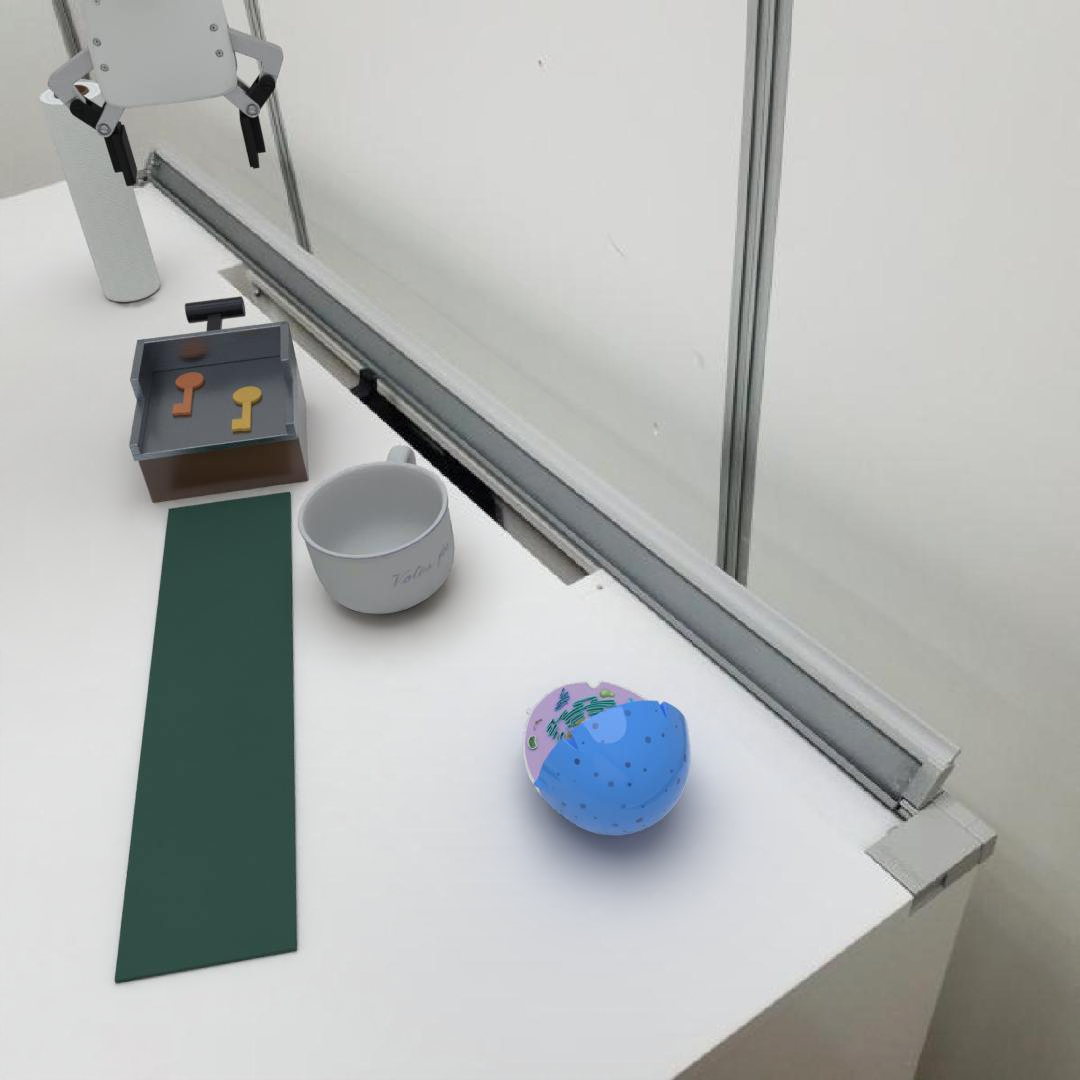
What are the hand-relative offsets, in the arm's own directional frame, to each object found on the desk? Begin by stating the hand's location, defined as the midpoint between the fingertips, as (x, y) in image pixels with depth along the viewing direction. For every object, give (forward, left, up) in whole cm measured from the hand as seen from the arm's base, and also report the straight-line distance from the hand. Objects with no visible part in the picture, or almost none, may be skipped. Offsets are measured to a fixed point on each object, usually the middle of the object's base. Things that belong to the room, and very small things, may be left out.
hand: (193, 170), depth 92 cm
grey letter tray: (-1, -5, -18) cm, 18 cm away
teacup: (+16, -23, -23) cm, 36 cm away
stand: (0, -7, -23) cm, 24 cm away
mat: (+4, -35, -23) cm, 42 cm away
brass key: (+2, -9, -17) cm, 19 cm away
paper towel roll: (-17, +24, -23) cm, 37 cm away
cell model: (+31, -44, -23) cm, 58 cm away
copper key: (-3, -6, -17) cm, 18 cm away
